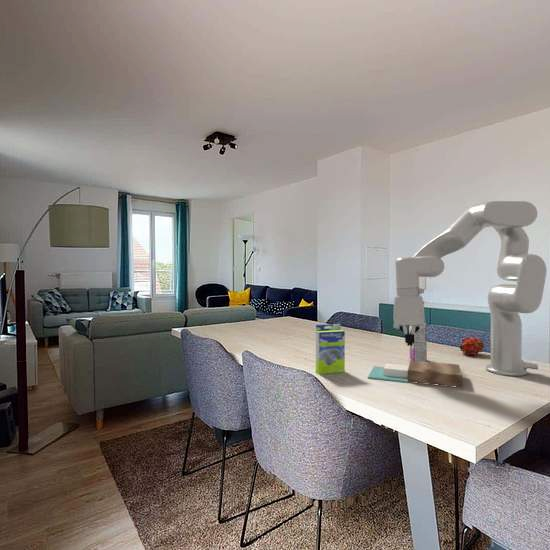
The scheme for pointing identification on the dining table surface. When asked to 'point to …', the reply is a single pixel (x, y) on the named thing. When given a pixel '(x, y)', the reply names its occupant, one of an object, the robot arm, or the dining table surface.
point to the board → (435, 373)
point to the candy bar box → (419, 346)
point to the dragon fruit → (471, 346)
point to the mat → (378, 374)
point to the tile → (396, 370)
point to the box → (330, 349)
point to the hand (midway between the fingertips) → (410, 344)
